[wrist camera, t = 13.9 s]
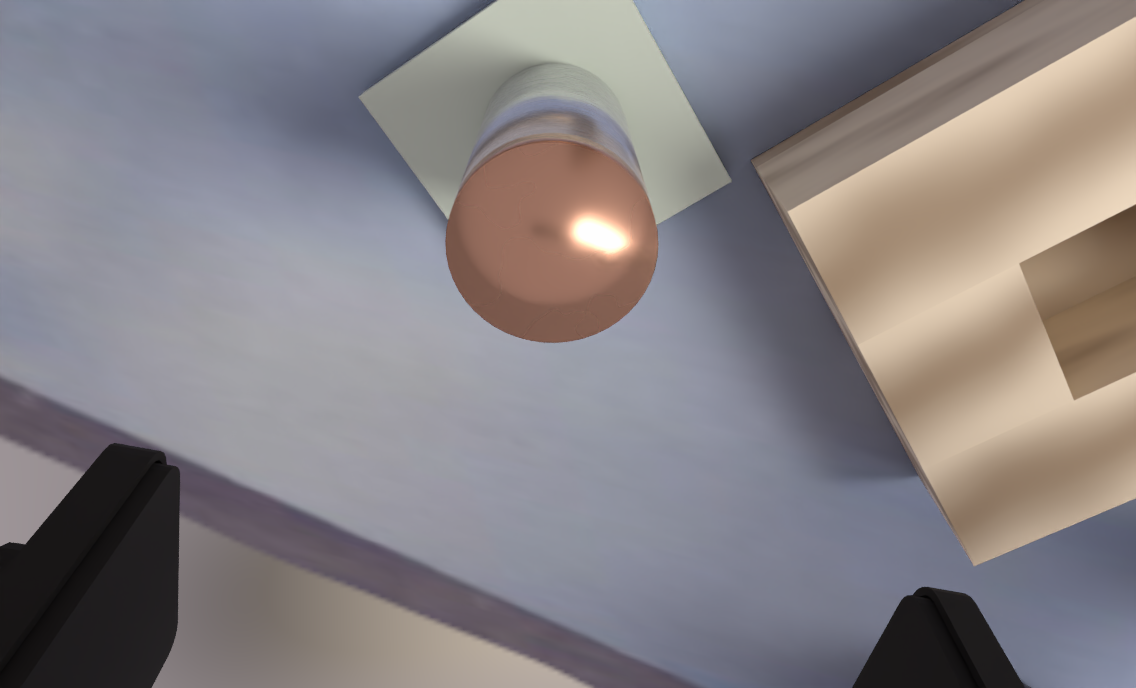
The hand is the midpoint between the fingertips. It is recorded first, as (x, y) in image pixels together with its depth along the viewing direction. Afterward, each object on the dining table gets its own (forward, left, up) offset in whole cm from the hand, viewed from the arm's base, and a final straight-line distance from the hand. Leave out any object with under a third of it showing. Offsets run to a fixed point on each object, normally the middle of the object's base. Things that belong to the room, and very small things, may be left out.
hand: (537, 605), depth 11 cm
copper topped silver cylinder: (0, 0, -23) cm, 23 cm away
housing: (-14, -15, -24) cm, 32 cm away
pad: (0, 0, -24) cm, 24 cm away
